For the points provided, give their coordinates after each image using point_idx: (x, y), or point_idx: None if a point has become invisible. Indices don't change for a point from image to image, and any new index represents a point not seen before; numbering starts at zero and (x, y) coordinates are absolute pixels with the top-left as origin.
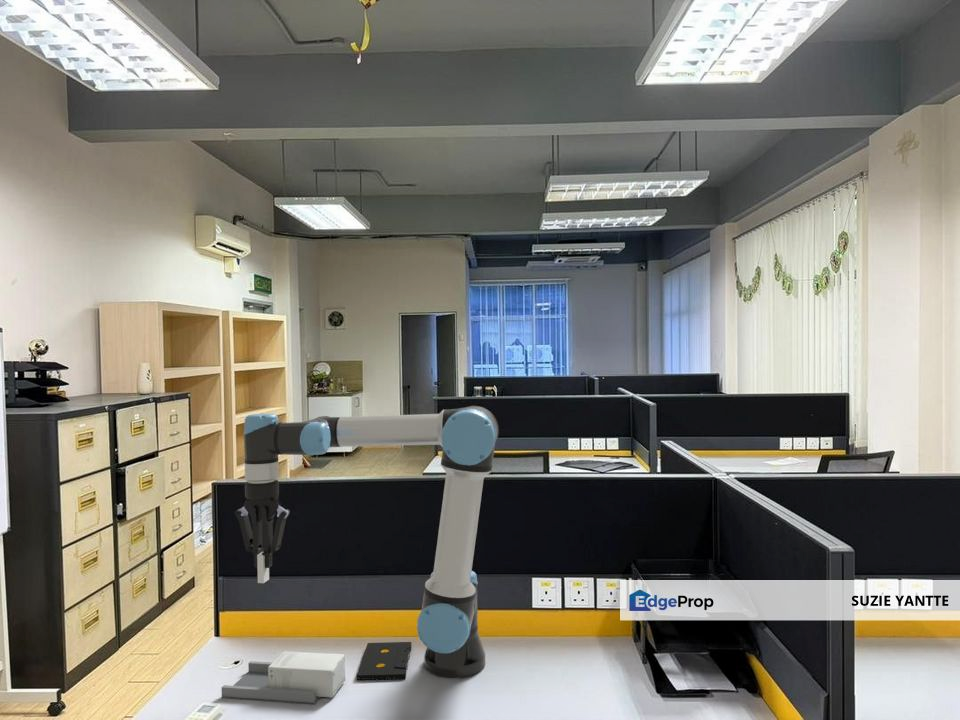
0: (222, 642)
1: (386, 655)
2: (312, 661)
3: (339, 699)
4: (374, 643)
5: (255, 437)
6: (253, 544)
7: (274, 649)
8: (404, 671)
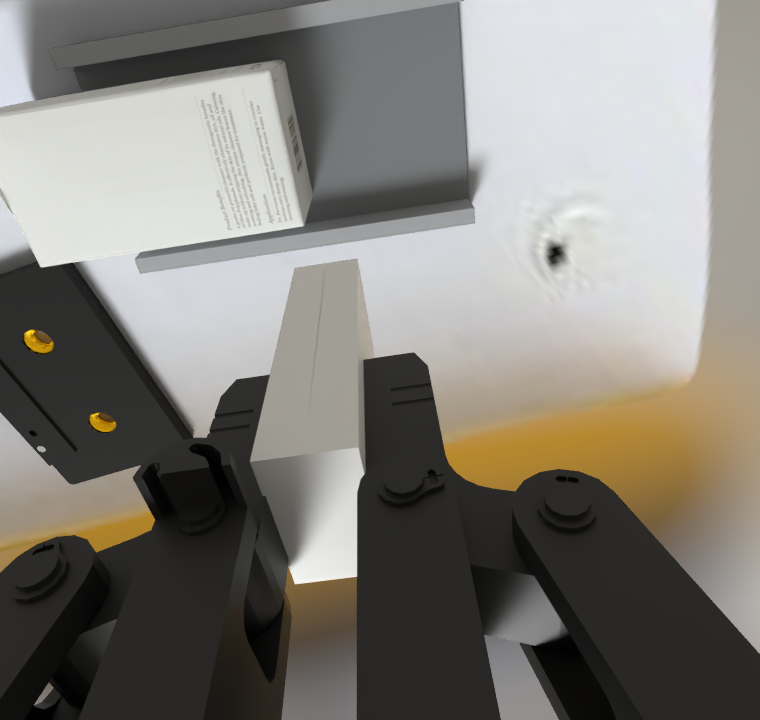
0: (677, 357)
1: (73, 399)
2: (106, 168)
3: None
4: None
5: None
6: (460, 607)
7: (475, 361)
8: None
